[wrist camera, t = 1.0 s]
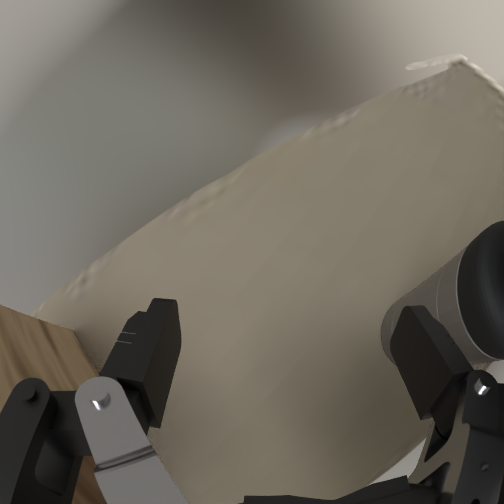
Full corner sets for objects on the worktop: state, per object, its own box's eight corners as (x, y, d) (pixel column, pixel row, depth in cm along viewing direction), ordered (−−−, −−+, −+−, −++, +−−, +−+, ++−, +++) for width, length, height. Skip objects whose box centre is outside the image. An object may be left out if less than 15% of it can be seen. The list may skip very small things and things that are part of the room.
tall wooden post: (98, 442, 28) (-38, 460, 8) (140, 493, 25) (22, 554, 4) (75, 462, 27) (-47, 480, 6) (113, 509, 24) (3, 559, 3)
